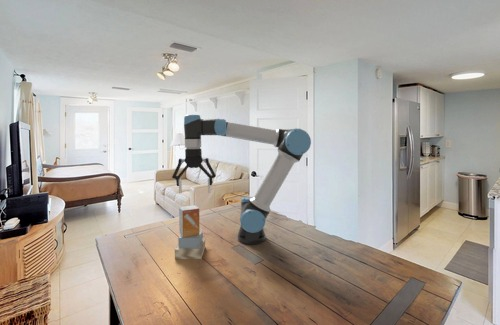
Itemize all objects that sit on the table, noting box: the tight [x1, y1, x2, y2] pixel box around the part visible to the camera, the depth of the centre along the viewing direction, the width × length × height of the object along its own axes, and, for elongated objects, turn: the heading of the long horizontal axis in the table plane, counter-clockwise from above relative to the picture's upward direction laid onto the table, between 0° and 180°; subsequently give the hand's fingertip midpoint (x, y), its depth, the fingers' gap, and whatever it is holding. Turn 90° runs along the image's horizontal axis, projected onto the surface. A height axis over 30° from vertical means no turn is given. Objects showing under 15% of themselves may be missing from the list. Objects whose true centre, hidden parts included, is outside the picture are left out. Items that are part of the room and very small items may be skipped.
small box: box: [178, 205, 200, 238], centre depth 120 cm, size 8×6×13 cm
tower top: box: [177, 230, 204, 249], centre depth 122 cm, size 9×9×5 cm
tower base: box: [174, 238, 206, 260], centre depth 123 cm, size 12×12×5 cm
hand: (194, 192), depth 123 cm, fingers open, 13 cm apart
